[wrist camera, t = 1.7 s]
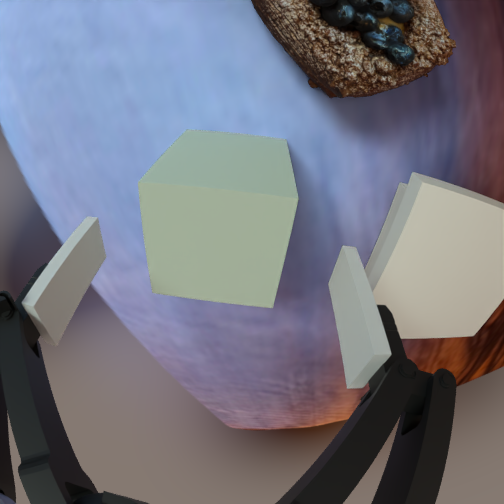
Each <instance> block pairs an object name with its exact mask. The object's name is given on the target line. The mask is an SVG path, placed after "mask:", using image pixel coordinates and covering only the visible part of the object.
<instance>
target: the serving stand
mask: <svg viewBox="0 0 504 504" xmlns="http://www.w3.org/2000/svg"><path fill="white" fill-rule="evenodd" d="M364 270H365V273H366V276H367V279H368V281H369V284H370V287H371V290H372V293H373V296H374V299H375V302H376V305H386V306H387V307H388V309H389V310H390V311H391V313H392V314H393V317H394V320H395V324H396V326H397V329H398V332H399V335H400V338H401V339H415V338H447V337H466V336H474V335H475V334H476V332H477V331H478V330H479V329H480V328H481V327H482V325H483V324H484V323H485V322H486V321H487V319H488V318H489V317H490V316H491V314H492V313H493V312H494V311H495V309H496V308H497V307H498V305H499V304H500V303H501V301H502V300H503V299H504V204H503V203H501V202H499V201H496V200H494V199H491V198H489V197H486V196H484V195H481V194H478V193H476V192H473V191H470V190H467V189H465V188H462V187H459V186H456V185H453V184H450V183H447V182H444V181H441V180H438V179H435V178H432V177H428V176H425V175H422V174H418V173H415V172H412V174H411V177H410V180H409V183H408V184H405V183H401V182H400V183H399V186H398V189H397V191H396V194H395V197H394V199H393V202H392V205H391V207H390V210H389V213H388V215H387V218H386V220H385V223H384V225H383V228H382V230H381V233H380V235H379V237H378V240H377V242H376V245H375V247H374V249H373V251H372V254H371V256H370V258H369V261H368V263H367V265H366V267H365V269H364Z"/></svg>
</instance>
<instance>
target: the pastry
mask: <svg viewBox="0 0 504 504" xmlns="http://www.w3.org/2000/svg"><path fill="white" fill-rule="evenodd" d="M251 1H252V3H253V5H254V8H255V10H256V11H257V13H258V15H259V16H260V18H261V19H262V21H263V22H264V24H265V25H266V27H267V28H268V29H269V31H270V32H271V33H272V35H273V36H274V38H275V39H276V40H277V41H278V42H279V43H280V44H281V45H282V46H283V48H284V49H285V51H286V52H287V53H288V54H289V55H290V56H291V57H292V58H293V60H294V61H295V62H296V63H297V64H298V65H299V67H300V68H301V69H302V70H303V71H304V72H305V73H306V74H307V75H308V77H309V78H310V79H309V81H308V83H309V85H310V86H311V87H312V88H318V87H319V88H321V89H322V90H323V91H324V92H325V93H326V94H327V95H328V97H329V98H333V97H339V98H344V97H355V98H356V97H366V96H372V95H374V94H377V93H381V92H384V91H388V90H391V89H395V88H398V87H400V86H402V85H404V84H406V85H408V84H409V82H412V81H414V80H416V79H418V78H420V77H422V76H426V77H428V74H427V73H429V72H430V71H431V70H432V69H433V68H434V67H435V66H436V65H438V66H440V65H445V64H446V63H448V57H450V56H451V55H452V54H453V52H452V48H456V43H455V40H452V39H450V38H449V37H448V36H450V33H449V32H448V30H447V29H445V25H444V22H443V19H442V17H441V15H440V12H439V10H438V8H437V6H436V4H435V2H434V0H251Z"/></svg>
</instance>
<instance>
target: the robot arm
mask: <svg viewBox="0 0 504 504" xmlns="http://www.w3.org/2000/svg"><path fill="white" fill-rule="evenodd" d="M105 258H106V254H105V249H104V245H103V240H102V236H101V231H100V226H99V221H98V218H96V217H86V218H85V219H84V220H83V222H82V223H81V224H80V225H79V226H78V227H77V229H76V230H75V231H74V232H73V233H72V235H71V236H70V237H69V238H68V239H67V241H66V242H65V243H64V244H63V246H62V247H61V248H60V249H59V251H58V252H57V253H56V255H55V256H54V257H53V259H52V260H51V261H50V263H49V264H46V263H45V264H44V265H43V266H41V267H40V268H39V269H37V271H36V272H35V274H34V275H33V276H32V278H31V279H30V281H29V282H28V284H27V285H26V286H25V288H24V289H23V291H22V292H21V293H20V295H19V296H18V298H17V300H16V301H15V302H14V300H13V299H12V297H11V295H10V293H9V292H7V291H1V292H0V504H16V493H15V483H14V476H13V470H12V463H11V455H10V446H9V434H8V416H7V410H8V415H9V419H10V423H11V427H12V431H13V435H14V438H15V442H16V445H17V448H18V452H19V455H20V458H21V464H20V466H19V467H18V473H19V476H20V479H21V481H22V484H23V487H24V489H25V492H26V494H27V496H28V499H29V501H30V503H31V504H148V503H146V502H142V501H139V500H135V499H132V498H128V497H124V496H120V495H116V494H113V493H109V492H106V491H104V492H103V493H98V491H97V490H96V488H95V486H94V484H93V483H92V481H91V480H90V478H89V477H88V476H87V475H86V473H85V472H84V471H83V470H82V468H81V466H80V464H79V462H78V460H77V458H76V456H75V453H74V451H73V449H72V446H71V444H70V442H69V439H68V437H67V434H66V432H65V429H64V426H63V424H62V421H61V418H60V415H59V413H58V410H57V407H56V404H55V400H54V397H53V394H52V391H51V387H50V384H49V380H48V377H47V373H46V369H45V365H44V361H43V356H42V352H41V347H40V344H39V341H38V338H39V336H40V335H41V337H42V338H43V340H44V341H45V342H46V343H48V344H52V345H54V346H57V345H58V343H59V341H60V339H61V337H62V335H63V333H64V331H65V329H66V327H67V325H68V323H69V321H70V319H71V317H72V315H73V314H74V312H75V310H76V308H77V306H78V304H79V303H80V301H81V299H82V297H83V295H84V293H85V292H86V290H87V288H88V287H89V285H90V283H91V281H92V280H93V278H94V276H95V275H96V273H97V271H98V270H99V268H100V267H101V265H102V263H103V262H104V260H105ZM328 285H329V290H330V295H331V300H332V305H333V310H334V315H335V320H336V325H337V331H338V336H339V342H340V347H341V353H342V359H343V365H344V371H345V378H346V385H347V389H350V388H363V387H364V386H365V385H366V384H367V383H368V382H369V387H370V390H369V391H368V392H367V393H366V394H365V395H364V396H363V397H362V398H361V400H362V401H361V402H360V404H359V405H358V406H357V408H356V409H355V411H354V412H353V414H352V415H351V416H350V418H349V419H348V421H347V422H346V423H345V425H344V426H343V427H342V429H341V430H340V431H339V433H338V434H337V435H336V437H335V438H334V439H333V441H332V442H331V443H330V444H329V446H328V447H327V448H326V449H325V450H324V452H323V453H322V454H321V455H320V456H319V458H318V459H317V460H316V461H315V462H314V464H313V465H312V466H311V467H310V468H309V469H308V470H307V471H306V473H305V474H304V475H303V476H302V477H301V478H300V479H299V480H298V481H297V482H296V483H295V485H294V486H293V487H292V488H291V489H290V490H289V491H288V492H287V493H286V494H285V495H284V496H283V497H282V498H281V499H280V500H279V501H278V502H277V503H276V504H343V502H344V501H345V500H346V499H347V497H348V496H349V495H350V493H351V492H352V491H353V490H354V488H355V487H356V486H357V484H358V483H359V481H360V480H361V479H362V477H363V476H364V474H365V473H366V471H367V470H368V469H369V467H370V465H371V464H372V463H373V461H374V459H375V458H376V456H377V455H378V453H379V452H380V450H381V448H382V447H383V445H384V443H385V442H386V440H387V438H388V437H389V435H390V433H391V431H392V430H393V428H394V426H395V424H396V423H397V421H398V419H399V417H400V420H399V424H398V428H397V432H396V435H395V439H394V442H393V445H392V449H391V452H390V455H389V458H388V461H387V464H386V467H385V470H384V473H383V475H382V479H381V481H380V484H379V486H378V489H377V491H376V494H375V496H374V499H373V501H372V503H371V504H435V502H436V499H437V496H438V492H439V489H440V485H441V481H442V477H443V473H444V469H445V464H446V459H447V455H448V449H449V444H450V437H451V431H452V424H453V416H454V407H455V396H456V380H455V377H454V375H453V374H452V373H451V372H450V371H448V370H447V369H438V370H437V371H436V372H435V373H434V374H431V373H427V372H424V371H420V370H418V368H417V366H416V364H415V363H414V362H413V361H411V360H409V359H407V357H406V354H405V351H404V347H403V344H402V341H401V338H400V335H399V332H398V329H397V326H396V324H395V320H394V317H393V314H392V313H391V311H390V310H389V309H388V307H387V306H386V305H376V302H375V299H374V296H373V293H372V290H371V287H370V284H369V281H368V279H367V276H366V273H365V270H364V268H363V265H362V262H361V260H360V257H359V254H358V252H357V249H356V247H351V246H344V245H342V248H341V251H340V254H339V256H338V259H337V262H336V265H335V267H334V270H333V273H332V275H331V278H330V281H329V283H328ZM400 415H401V416H400Z"/></svg>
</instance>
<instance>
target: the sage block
mask: <svg viewBox="0 0 504 504" xmlns="http://www.w3.org/2000/svg"><path fill="white" fill-rule="evenodd" d="M138 188H139V199H140V209H141V218H142V227H143V235H144V242H145V249H146V256H147V263H148V269H149V275H150V281H151V287H152V293H157V294H163V295H170V296H177V297H184V298H191V299H198V300H206V301H214V302H222V303H230V304H239V305H247V306H257V307H266V308H273V305H274V301H275V297H276V293H277V289H278V285H279V281H280V277H281V273H282V268H283V264H284V260H285V256H286V252H287V248H288V243H289V239H290V235H291V230H292V226H293V222H294V217H295V213H296V208H297V204H298V199H299V198H298V193H297V188H296V183H295V178H294V173H293V168H292V164H291V159H290V154H289V150H288V145H287V141H286V139H280V138H273V137H265V136H258V135H249V134H240V133H230V132H219V131H206V130H190V129H187V130H186V131H185V132H184V133H183V134H182V135H181V136H180V137H179V138H178V139H177V140H176V141H175V142H174V143H173V144H172V145H171V146H170V147H169V148H168V149H167V150H166V151H165V153H164V154H163V155H162V156H161V157H160V158H159V159H158V160H157V161H156V162H155V163H154V165H153V166H152V167H151V168H150V169H149V170H148V171H147V172H146V174H145V175H144V176H143V177H142V178H141V179H140V181H139V182H138Z"/></svg>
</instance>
